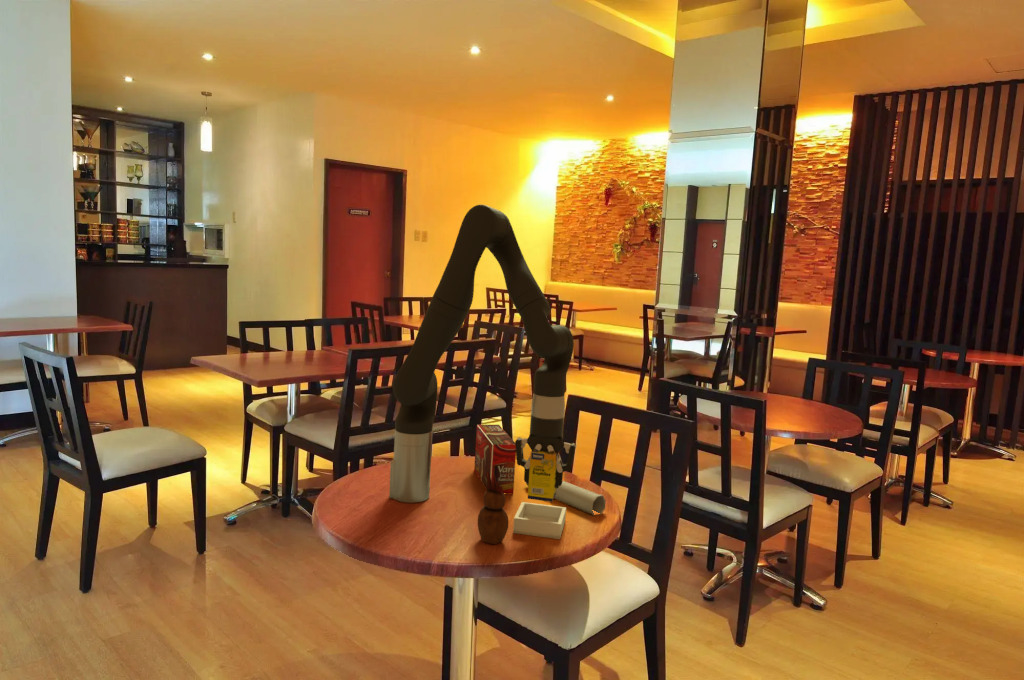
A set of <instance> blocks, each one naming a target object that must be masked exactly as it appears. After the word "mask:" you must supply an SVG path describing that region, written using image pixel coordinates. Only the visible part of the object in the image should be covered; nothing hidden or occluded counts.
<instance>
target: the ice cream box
mask: <svg viewBox="0 0 1024 680" xmlns="http://www.w3.org/2000/svg"><path fill="white" fill-rule="evenodd" d="M475 434H476V436H475V449H474V450H475V452H474V469H473V470H474V472H475V474H476V475H477V477H478V476H479V477H478V478H479V480H480V479H481V480H480V481H482V482H481V483H482V485H483V484H484V485H483V487H484V486H485V487H486V488H485V487H484V488H485V490H486V489H487V478H488V472H490V477H491V482H492V481H493V477H494V476H495V479H496V483H497V482H498V481H499V487H500V486H502V492H503V493H513V494H514V489H515V488H514V487H515V475H516V474H515V473H516V460H517V458H516V446H515V441H514V440H513V439H512V437H511V436H509V434H508V433H507V432H506V431H505V430H504V429H503V427H502V426H501V425H500V424H476V433H475Z"/></svg>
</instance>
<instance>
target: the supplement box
mask: <svg viewBox="0 0 1024 680" xmlns="http://www.w3.org/2000/svg"><path fill="white" fill-rule="evenodd" d="M529 454H530V455H529V457H530V470H529V485H527V488H528V489H527V499H528V500H534V501H536V500H537V501H542V502H543V501H544V502H551V503H552V502H553V501H554V500H555V499H554V497H555V495H556V490H557V488H555V483H556V472H557V468H556V466H557V457H558V456H559V455H560V452H559V453H558V454H557V453H556V454H554V453H549V452H545V451H539V452H536V451H532V450H531V452H530V453H529Z"/></svg>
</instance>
